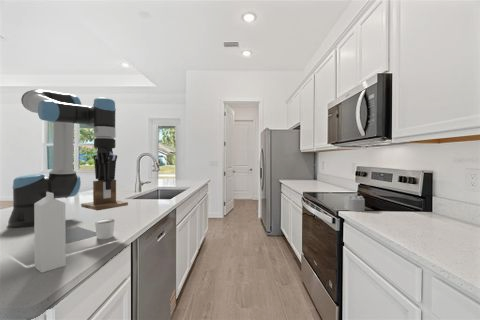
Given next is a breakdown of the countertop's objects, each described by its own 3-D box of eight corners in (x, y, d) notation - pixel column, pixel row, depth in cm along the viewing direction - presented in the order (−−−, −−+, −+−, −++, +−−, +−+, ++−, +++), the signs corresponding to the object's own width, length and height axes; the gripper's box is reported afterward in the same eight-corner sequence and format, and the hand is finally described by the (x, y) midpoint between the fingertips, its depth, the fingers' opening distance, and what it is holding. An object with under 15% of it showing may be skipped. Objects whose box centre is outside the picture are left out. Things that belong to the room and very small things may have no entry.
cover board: (81, 206, 99) (81, 180, 98) (111, 202, 109) (111, 178, 109) (97, 210, 92) (97, 182, 92) (127, 205, 102) (127, 180, 102)
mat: (40, 236, 103) (40, 234, 103) (78, 228, 115) (78, 226, 115) (63, 245, 92) (63, 244, 92) (102, 235, 104) (102, 234, 104)
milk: (58, 261, 79) (58, 190, 79) (65, 266, 75) (66, 192, 75) (33, 267, 74) (34, 192, 74) (40, 273, 71) (40, 194, 70)
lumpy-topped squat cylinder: (358, 207, 165) (359, 194, 165) (368, 211, 152) (368, 197, 152) (342, 207, 165) (342, 194, 165) (351, 211, 152) (351, 197, 152)
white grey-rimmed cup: (106, 241, 97) (106, 223, 97) (90, 240, 98) (90, 222, 98) (118, 236, 103) (118, 219, 103) (103, 235, 105) (103, 218, 105)
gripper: (85, 138, 101) (85, 197, 101) (105, 136, 93) (106, 200, 93) (103, 139, 107) (104, 194, 108) (124, 138, 99) (125, 198, 99)
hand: (105, 197), depth 100 cm, fingers closed on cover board, 2 cm apart
